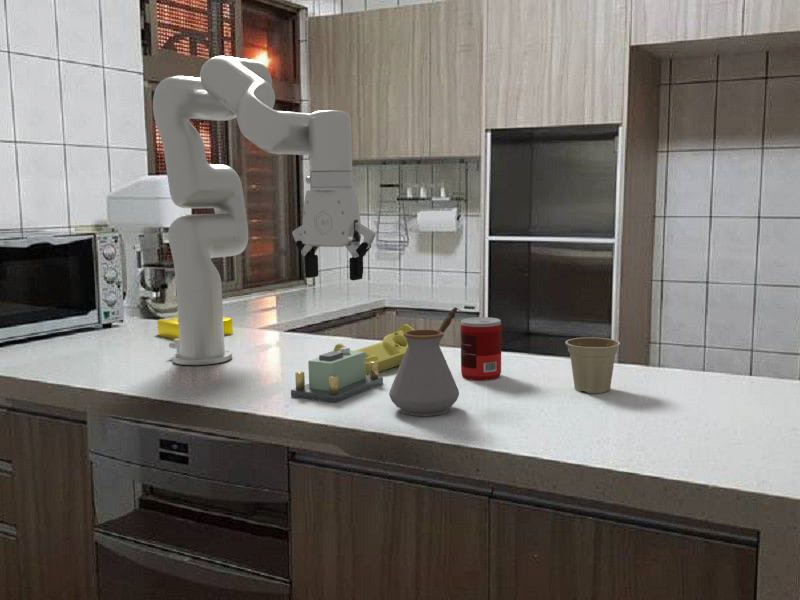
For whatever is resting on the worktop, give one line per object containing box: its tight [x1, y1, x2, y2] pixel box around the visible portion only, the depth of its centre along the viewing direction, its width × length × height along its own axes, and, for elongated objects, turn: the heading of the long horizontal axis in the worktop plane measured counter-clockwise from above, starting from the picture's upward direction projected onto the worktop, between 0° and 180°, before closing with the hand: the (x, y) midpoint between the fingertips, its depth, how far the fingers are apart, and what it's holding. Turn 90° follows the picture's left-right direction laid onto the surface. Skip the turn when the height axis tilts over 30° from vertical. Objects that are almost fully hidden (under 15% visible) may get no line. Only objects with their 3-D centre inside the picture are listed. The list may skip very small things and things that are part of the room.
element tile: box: [156, 316, 234, 340], centre depth 206 cm, size 15×15×5 cm
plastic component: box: [333, 323, 416, 374], centre depth 165 cm, size 20×7×10 cm
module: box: [307, 346, 366, 391], centre depth 144 cm, size 5×11×6 cm, turn 150°
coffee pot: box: [389, 306, 463, 417], centre depth 133 cm, size 21×12×15 cm, turn 155°
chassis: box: [290, 361, 384, 404], centre depth 144 cm, size 10×16×4 cm, turn 150°
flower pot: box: [565, 336, 621, 394], centre depth 140 cm, size 9×9×9 cm
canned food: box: [460, 316, 502, 382], centre depth 152 cm, size 8×8×11 cm
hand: (333, 278), depth 142 cm, fingers open, 9 cm apart
